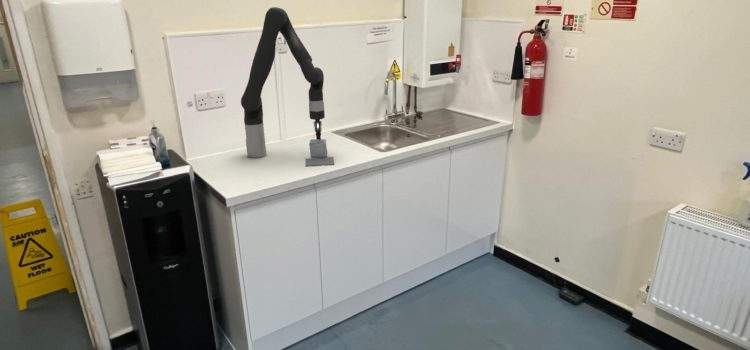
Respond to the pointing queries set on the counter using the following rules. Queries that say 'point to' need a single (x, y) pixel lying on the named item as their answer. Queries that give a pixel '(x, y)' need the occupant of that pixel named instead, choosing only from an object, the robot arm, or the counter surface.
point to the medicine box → (318, 148)
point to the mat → (319, 161)
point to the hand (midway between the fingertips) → (318, 142)
